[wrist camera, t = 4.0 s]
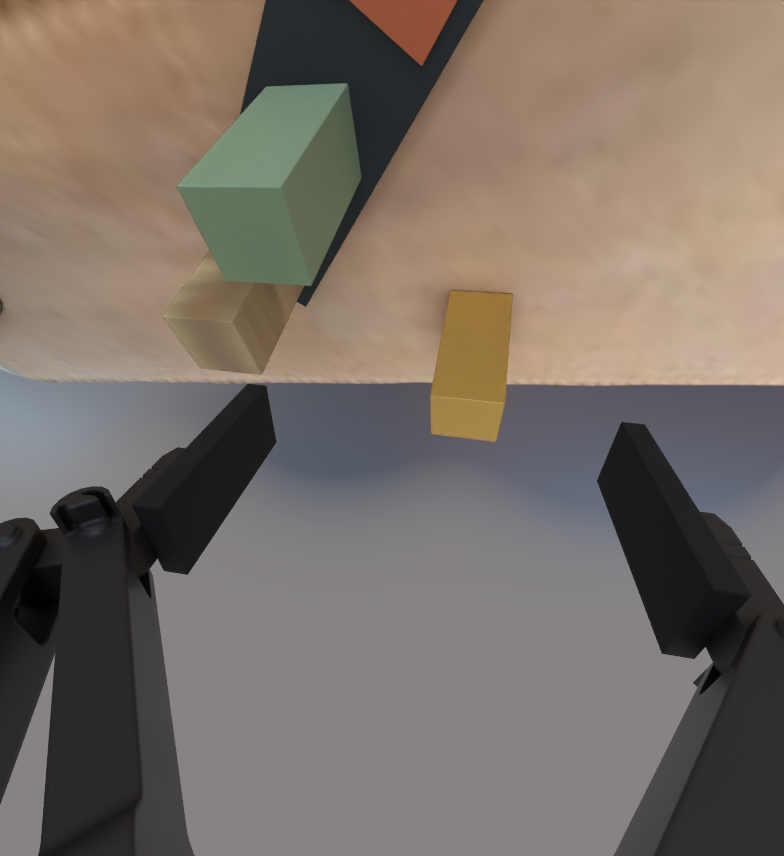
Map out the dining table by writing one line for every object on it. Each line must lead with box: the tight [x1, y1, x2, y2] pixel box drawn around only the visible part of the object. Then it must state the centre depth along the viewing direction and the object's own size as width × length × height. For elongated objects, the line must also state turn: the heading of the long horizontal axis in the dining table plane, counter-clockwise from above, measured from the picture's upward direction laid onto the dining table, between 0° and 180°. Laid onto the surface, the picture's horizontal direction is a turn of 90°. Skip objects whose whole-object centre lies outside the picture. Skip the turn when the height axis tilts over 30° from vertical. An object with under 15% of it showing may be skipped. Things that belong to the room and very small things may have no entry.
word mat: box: [240, 0, 483, 306], centre depth 25 cm, size 28×9×1 cm, turn 149°
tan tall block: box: [162, 250, 304, 375], centre depth 30 cm, size 5×5×11 cm
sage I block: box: [177, 83, 362, 286], centre depth 22 cm, size 5×5×11 cm
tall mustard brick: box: [430, 291, 513, 442], centre depth 32 cm, size 5×5×11 cm
